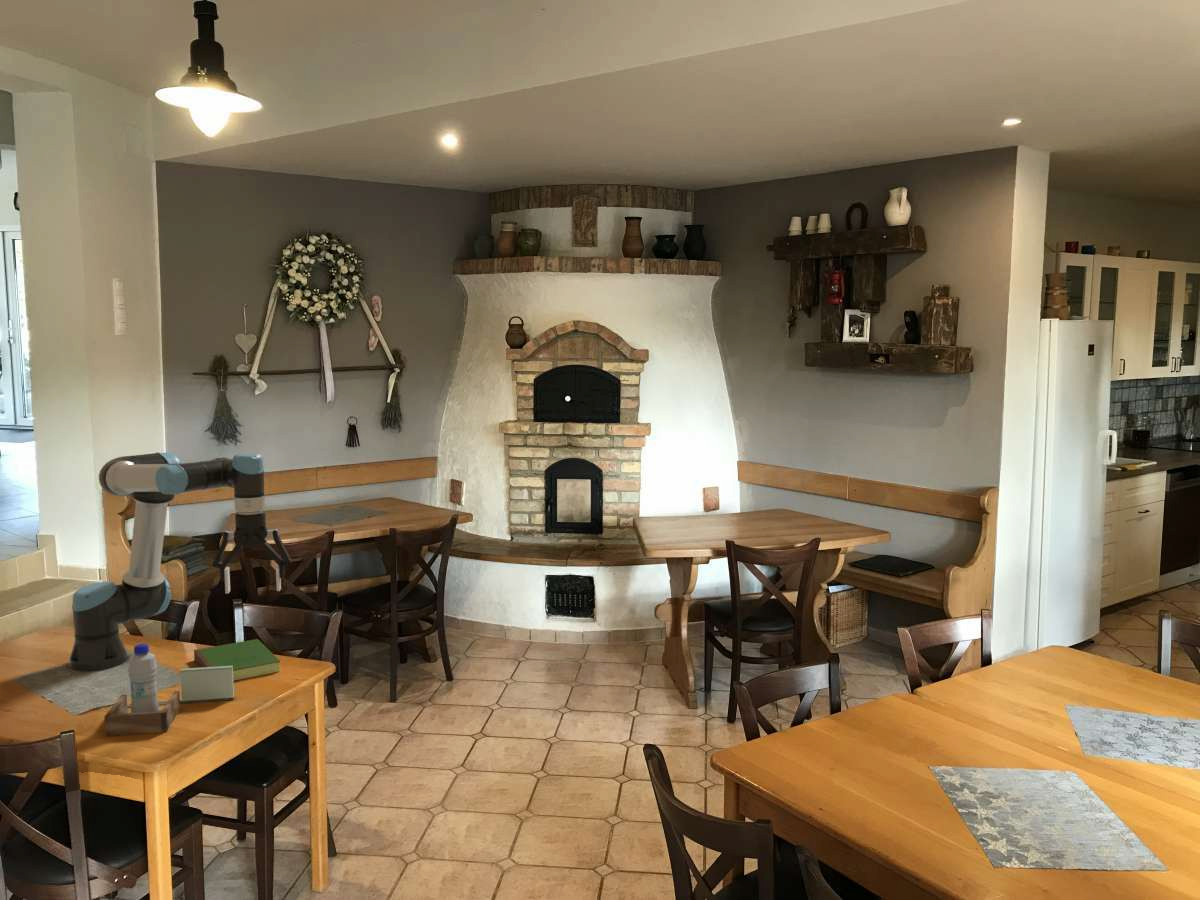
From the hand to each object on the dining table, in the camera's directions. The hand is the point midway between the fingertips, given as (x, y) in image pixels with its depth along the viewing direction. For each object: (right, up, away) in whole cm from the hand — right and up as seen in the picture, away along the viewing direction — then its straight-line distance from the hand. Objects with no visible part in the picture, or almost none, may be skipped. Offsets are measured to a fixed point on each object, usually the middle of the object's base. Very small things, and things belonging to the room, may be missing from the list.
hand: (253, 591), depth 251 cm
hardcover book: (-15, -27, +28) cm, 41 cm away
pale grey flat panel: (-13, -30, +1) cm, 32 cm away
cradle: (-17, -31, -9) cm, 37 cm away
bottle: (-23, -31, -12) cm, 41 cm away
